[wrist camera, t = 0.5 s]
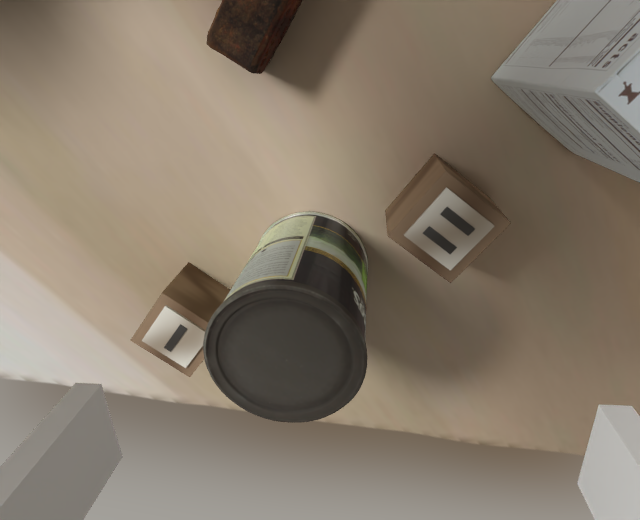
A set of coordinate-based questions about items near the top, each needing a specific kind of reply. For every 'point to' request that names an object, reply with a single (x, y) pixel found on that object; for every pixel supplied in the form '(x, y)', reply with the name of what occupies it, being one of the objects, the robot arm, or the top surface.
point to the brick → (251, 30)
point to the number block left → (181, 319)
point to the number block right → (444, 219)
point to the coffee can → (294, 322)
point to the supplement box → (583, 79)
